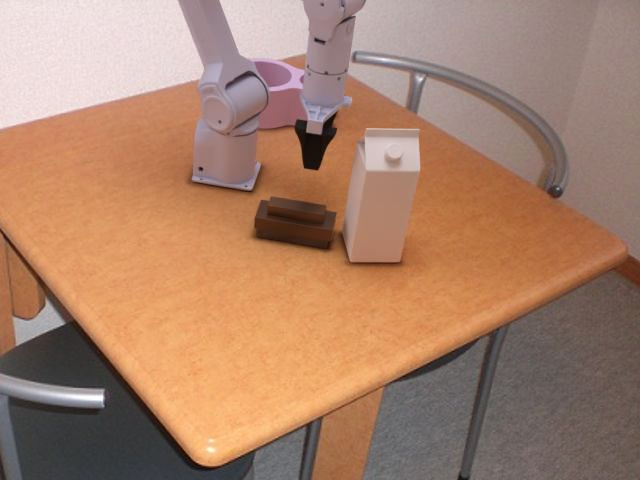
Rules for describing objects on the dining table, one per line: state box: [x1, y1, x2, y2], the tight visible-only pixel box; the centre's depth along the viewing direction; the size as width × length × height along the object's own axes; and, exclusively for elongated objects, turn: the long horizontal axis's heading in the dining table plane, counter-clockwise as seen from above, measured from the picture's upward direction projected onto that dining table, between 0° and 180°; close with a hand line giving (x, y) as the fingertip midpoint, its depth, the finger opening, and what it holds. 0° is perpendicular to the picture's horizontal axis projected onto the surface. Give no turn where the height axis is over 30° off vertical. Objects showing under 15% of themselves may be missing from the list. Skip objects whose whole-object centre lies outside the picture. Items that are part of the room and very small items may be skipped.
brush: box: [253, 195, 338, 250], centre depth 125 cm, size 11×5×5 cm, turn 79°
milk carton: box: [341, 127, 421, 263], centre depth 119 cm, size 7×7×19 cm
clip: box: [228, 57, 308, 130], centre depth 152 cm, size 20×12×7 cm, turn 81°
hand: (315, 154), depth 126 cm, fingers open, 7 cm apart
